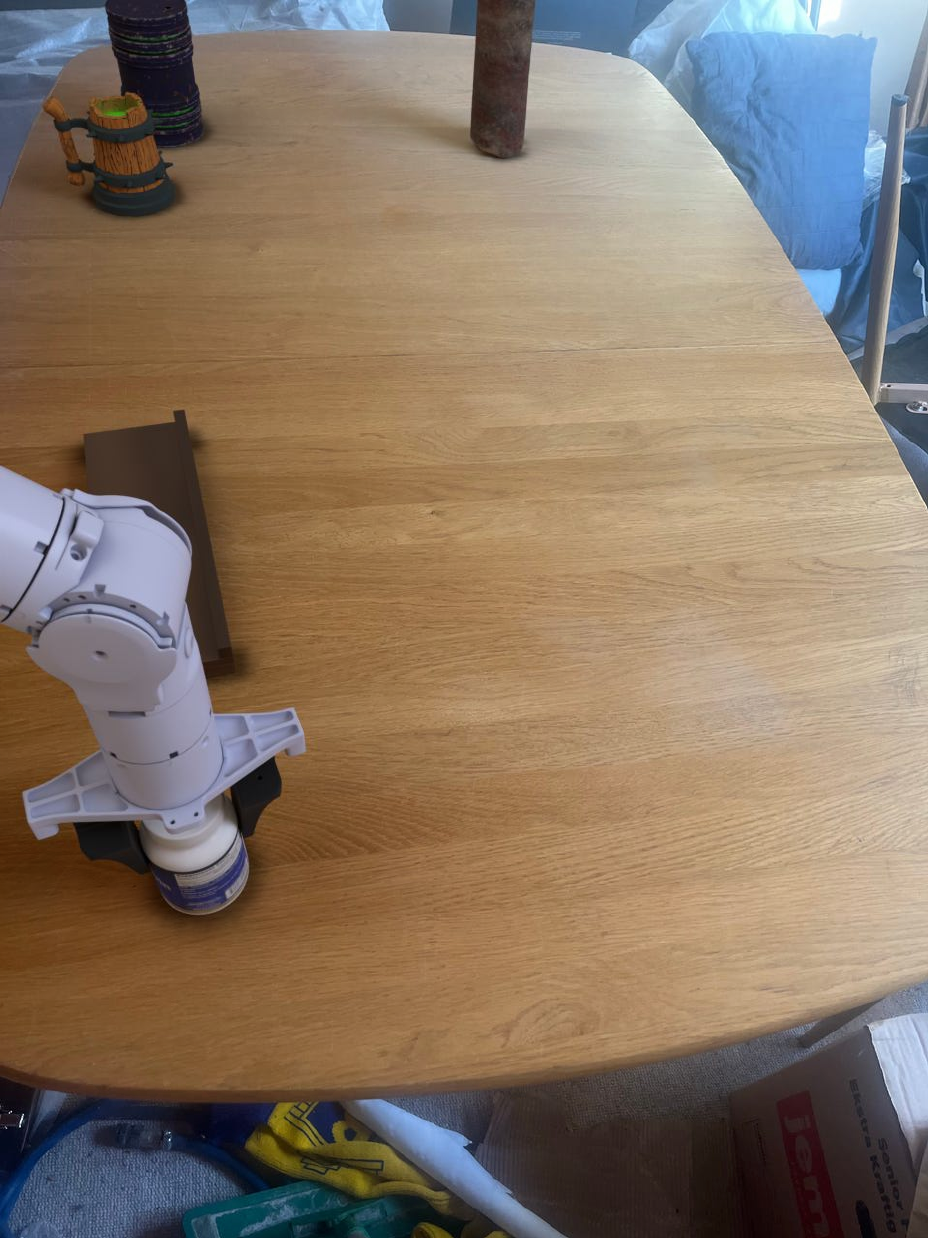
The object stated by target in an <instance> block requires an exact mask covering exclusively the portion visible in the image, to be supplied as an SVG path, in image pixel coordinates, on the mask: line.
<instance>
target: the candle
mask: <svg viewBox="0 0 928 1238" xmlns="http://www.w3.org/2000/svg"><path fill="white" fill-rule="evenodd" d="M536 2H537V1H536V0H477V1H476V19H475V20H476V22H475V38H474V39H475V43H474V57H473V70H472V71H473V75H472V89H471V90H472V91H471V109H470V129H469V137H470V139H471V142H472V144H474V145H476V146H477V147H478V148H479V149H480V150H481V151H483V152H485V153H489V154H491V155H493V156H495V157H497V158H500V159H508V158H511V157H513V156H514V155H516V154H519V153H520V152H521V151H522V149H523V147H524V140H525V130H526V118H527V107H528V104H527V103H528V91H529V76H530V67H531V56H532V55H531V54H532V46H533V34H534V33H533V31H534V23H535V12H536V11H535V10H536Z"/></svg>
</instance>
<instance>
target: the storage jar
mask: <svg viewBox="0 0 928 1238" xmlns="http://www.w3.org/2000/svg"><path fill="white" fill-rule="evenodd" d="M104 10H105V14H106V15H107V17H106V20H107V25H108V26H107V27H108V28H107V30H108V35H109V40H110V41H111V42H110V43H111V50H112V52H113V56H114V58H115V59H116V62H117V67H118V72H119V77H120V82H121V85H120V96H125V93H126V92H131V93H135V94H137V95H138V96H139V97H140V98H141V99H142V102H143V104H144V106H145V109H146V110H150V109H152V110H153V112H152V113H151V114H150V115H151V117H152V118H153V119H154V120H163V123H162V124H160V125H157V126H155V129H154V131H153V132H154V133H155V134H154V135H153V136H154V140H155V143H156V147H157V148H176V147H183V146H187V145H189V144H192V143H194V142H197V141H198V140H199V139H200V138H202V137H203V135H204V131H205V130H204V124H203V122H202V120H203V115H202V112H203V107H202V100H201V97H200V96H201V92H200V88H199V85H198V84H197V83H196V77H195V69H194V62H193V56H194V49H195V48H194V44H193V33H192V27H191V25H190V19H189V15H188V11H189V9H188V4H187V1H186V0H105V1H104Z"/></svg>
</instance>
